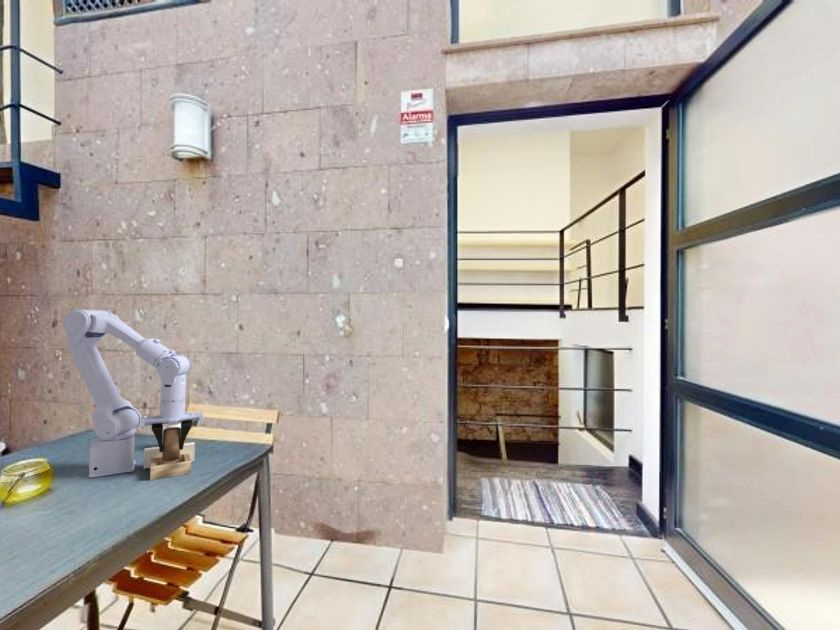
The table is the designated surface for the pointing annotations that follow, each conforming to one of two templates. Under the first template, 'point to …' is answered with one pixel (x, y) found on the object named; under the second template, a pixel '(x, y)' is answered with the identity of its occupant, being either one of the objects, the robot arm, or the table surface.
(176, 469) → the socket block
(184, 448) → the wall
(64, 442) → the table surface
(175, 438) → the dowel
